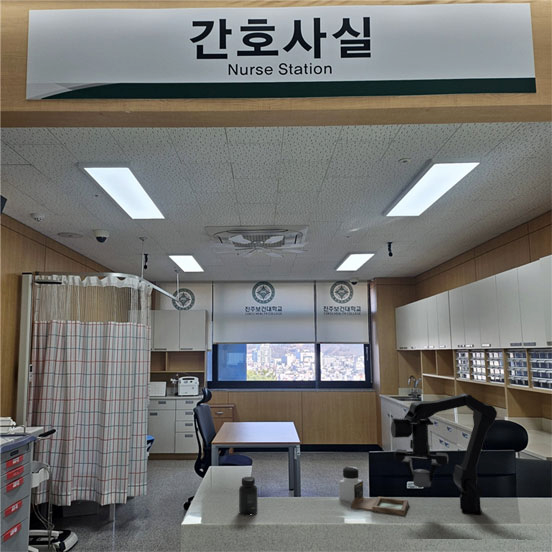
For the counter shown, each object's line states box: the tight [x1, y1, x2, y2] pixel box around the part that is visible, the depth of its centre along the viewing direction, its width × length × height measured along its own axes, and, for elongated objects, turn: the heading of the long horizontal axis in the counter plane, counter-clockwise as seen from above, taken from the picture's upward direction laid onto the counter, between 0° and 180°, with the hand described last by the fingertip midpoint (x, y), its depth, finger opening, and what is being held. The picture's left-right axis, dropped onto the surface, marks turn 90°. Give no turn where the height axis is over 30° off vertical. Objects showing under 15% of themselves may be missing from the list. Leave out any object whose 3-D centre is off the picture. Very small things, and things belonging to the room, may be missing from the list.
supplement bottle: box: [238, 476, 259, 516], centre depth 179 cm, size 7×7×12 cm
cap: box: [412, 468, 432, 488], centre depth 177 cm, size 6×6×5 cm
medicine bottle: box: [338, 466, 364, 503], centre depth 193 cm, size 7×7×12 cm
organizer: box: [350, 496, 409, 516], centre depth 183 cm, size 19×11×2 cm, turn 67°
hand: (421, 481), depth 177 cm, fingers closed on cap, 6 cm apart
